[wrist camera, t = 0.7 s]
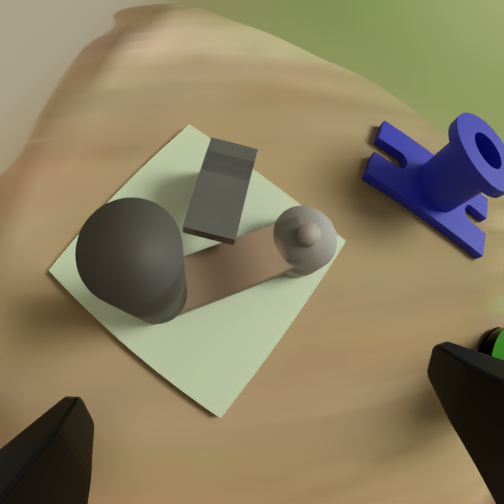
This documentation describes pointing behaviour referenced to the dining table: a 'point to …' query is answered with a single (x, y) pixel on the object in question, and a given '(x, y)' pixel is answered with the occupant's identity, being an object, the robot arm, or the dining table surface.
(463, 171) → the mount
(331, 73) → the dining table surface
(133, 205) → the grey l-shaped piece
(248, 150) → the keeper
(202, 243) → the plate
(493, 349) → the bottle
